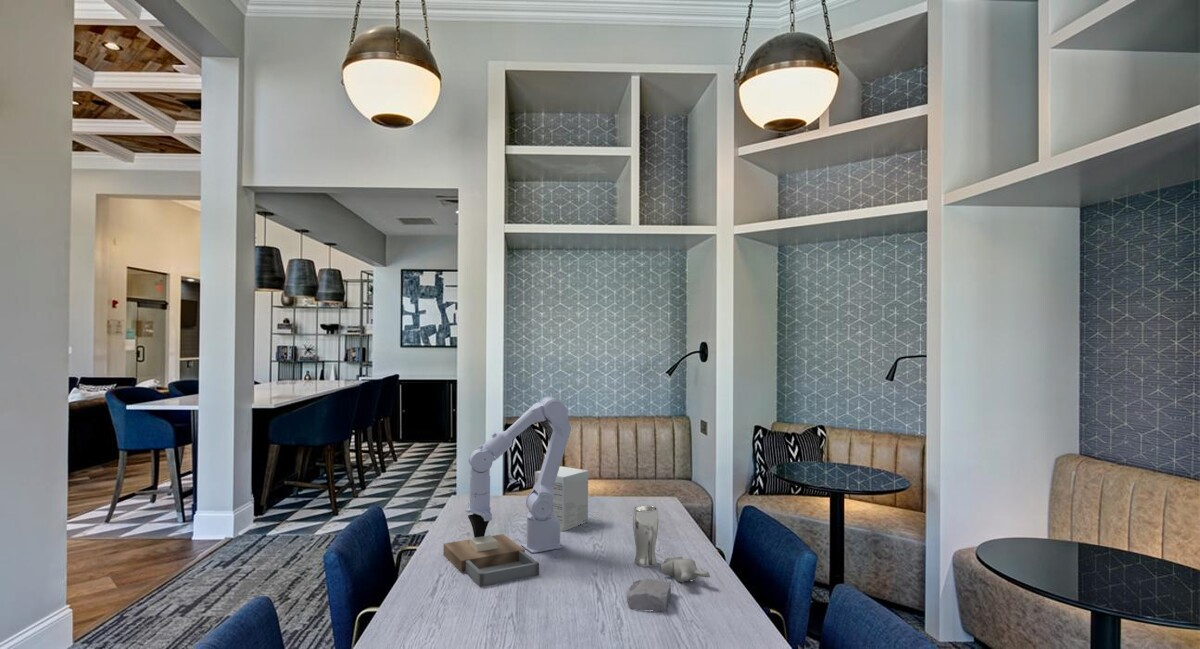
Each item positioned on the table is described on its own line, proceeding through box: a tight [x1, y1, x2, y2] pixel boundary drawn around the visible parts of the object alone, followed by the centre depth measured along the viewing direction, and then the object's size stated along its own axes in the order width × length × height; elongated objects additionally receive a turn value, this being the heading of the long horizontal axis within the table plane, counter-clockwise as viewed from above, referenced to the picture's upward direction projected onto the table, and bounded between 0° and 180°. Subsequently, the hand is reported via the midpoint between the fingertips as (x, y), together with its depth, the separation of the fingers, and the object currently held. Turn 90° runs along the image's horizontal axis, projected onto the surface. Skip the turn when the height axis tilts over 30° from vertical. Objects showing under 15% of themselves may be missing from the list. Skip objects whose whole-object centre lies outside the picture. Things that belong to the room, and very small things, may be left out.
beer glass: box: [632, 504, 659, 568], centre depth 168 cm, size 7×7×15 cm
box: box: [464, 551, 540, 587], centre depth 159 cm, size 16×11×3 cm
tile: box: [469, 534, 498, 552], centre depth 171 cm, size 6×6×2 cm
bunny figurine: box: [660, 556, 711, 583], centre depth 157 cm, size 10×5×15 cm
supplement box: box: [534, 465, 589, 532], centre depth 205 cm, size 13×13×18 cm
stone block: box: [626, 578, 672, 612], centre depth 143 cm, size 12×5×10 cm
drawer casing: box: [442, 534, 526, 573], centre depth 171 cm, size 18×16×3 cm
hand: (479, 540), depth 175 cm, fingers closed
